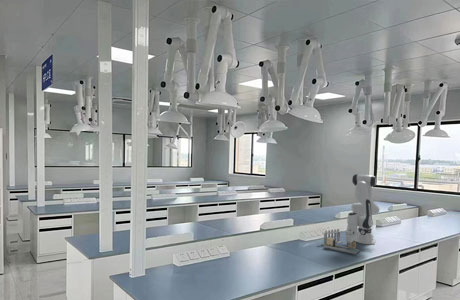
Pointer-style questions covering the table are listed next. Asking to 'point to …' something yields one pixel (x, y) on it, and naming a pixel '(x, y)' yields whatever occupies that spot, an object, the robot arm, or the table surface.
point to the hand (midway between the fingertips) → (351, 245)
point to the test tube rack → (332, 236)
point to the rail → (339, 247)
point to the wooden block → (352, 245)
